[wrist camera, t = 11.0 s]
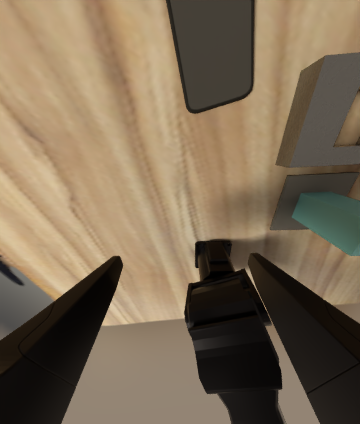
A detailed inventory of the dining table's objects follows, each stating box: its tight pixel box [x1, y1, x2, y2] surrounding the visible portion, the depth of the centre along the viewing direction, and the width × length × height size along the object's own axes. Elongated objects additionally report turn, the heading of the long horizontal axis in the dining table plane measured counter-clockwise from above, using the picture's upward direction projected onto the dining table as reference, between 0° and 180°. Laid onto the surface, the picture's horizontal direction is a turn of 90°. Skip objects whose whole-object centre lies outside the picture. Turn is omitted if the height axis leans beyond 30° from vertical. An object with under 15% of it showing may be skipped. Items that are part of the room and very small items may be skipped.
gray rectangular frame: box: [276, 52, 360, 168], centre depth 14 cm, size 9×13×2 cm
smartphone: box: [166, 0, 254, 113], centre depth 11 cm, size 7×1×15 cm
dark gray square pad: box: [270, 172, 359, 230], centre depth 19 cm, size 9×9×1 cm
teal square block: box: [292, 192, 360, 256], centre depth 16 cm, size 4×4×8 cm
